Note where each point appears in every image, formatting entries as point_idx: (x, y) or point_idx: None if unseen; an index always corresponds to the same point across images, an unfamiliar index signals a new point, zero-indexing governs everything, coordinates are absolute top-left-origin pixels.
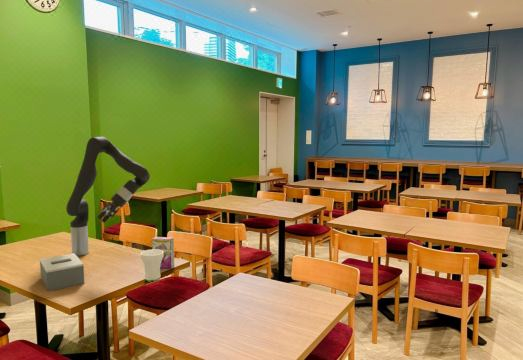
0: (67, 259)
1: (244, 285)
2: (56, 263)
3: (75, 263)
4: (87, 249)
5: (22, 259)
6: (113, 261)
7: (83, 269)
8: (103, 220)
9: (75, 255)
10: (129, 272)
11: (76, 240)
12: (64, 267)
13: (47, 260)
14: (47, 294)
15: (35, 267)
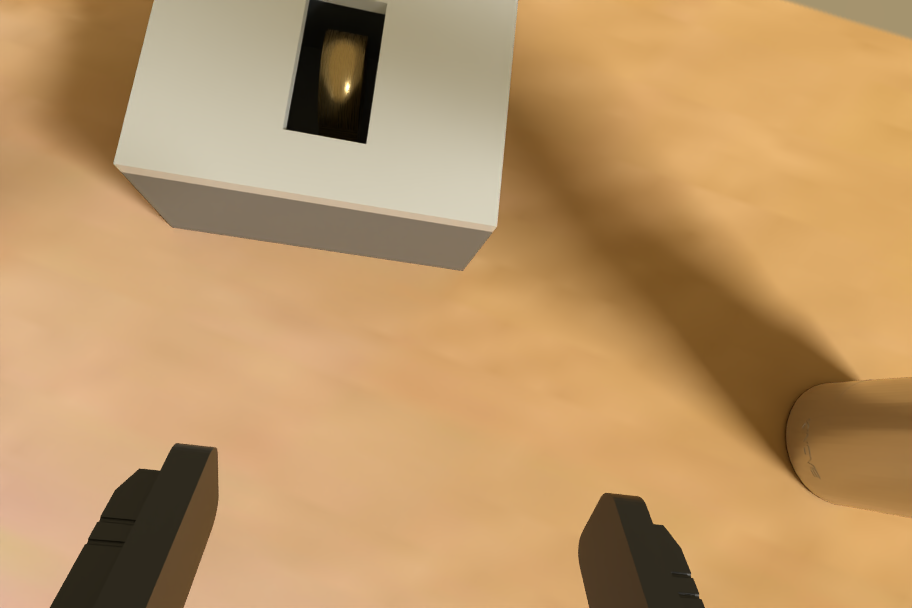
0: (369, 125)
1: None
2: (362, 47)
3: (181, 119)
4: (832, 489)
5: (899, 117)
6: (495, 587)
7: (133, 184)
8: (133, 479)
9: (422, 208)
10: None
11: (907, 399)
12: (150, 21)
13: (442, 4)
14: None
15: (704, 119)
